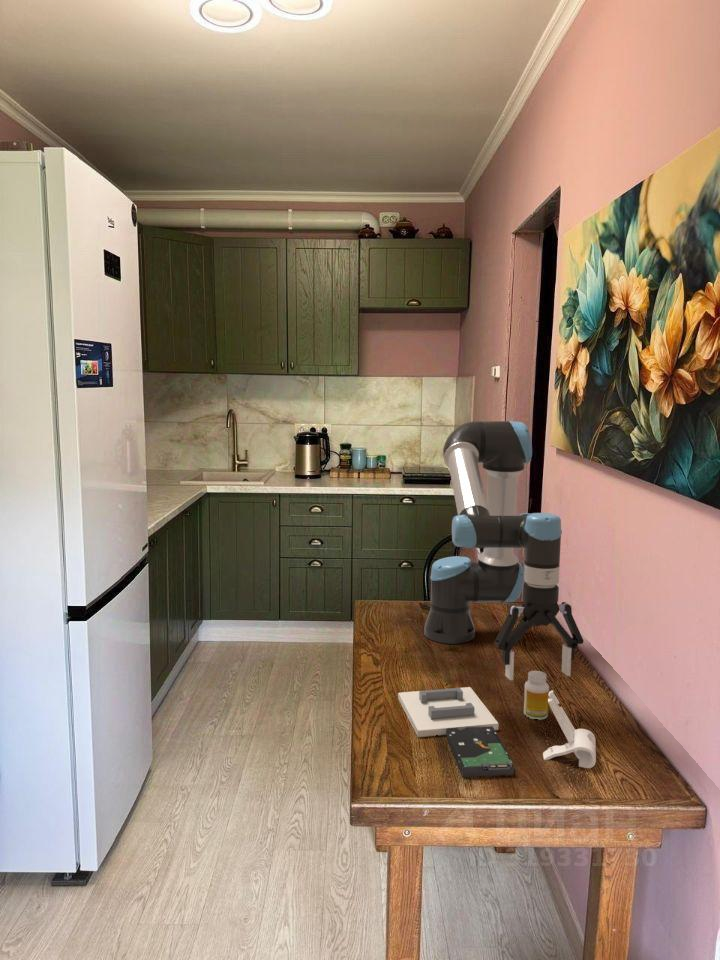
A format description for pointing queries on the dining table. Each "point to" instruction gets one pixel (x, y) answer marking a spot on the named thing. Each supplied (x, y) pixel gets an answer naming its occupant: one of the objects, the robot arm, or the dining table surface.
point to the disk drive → (479, 752)
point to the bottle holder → (445, 710)
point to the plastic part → (572, 738)
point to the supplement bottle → (536, 696)
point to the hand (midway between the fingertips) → (537, 675)
